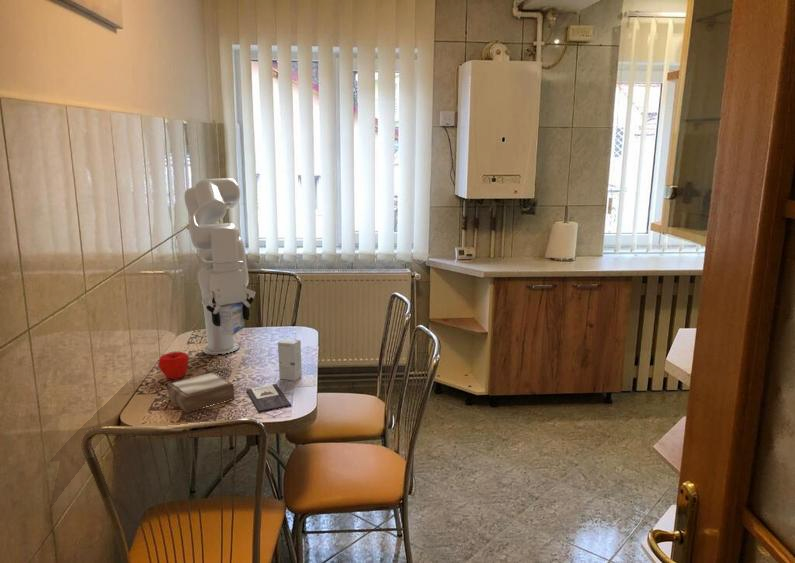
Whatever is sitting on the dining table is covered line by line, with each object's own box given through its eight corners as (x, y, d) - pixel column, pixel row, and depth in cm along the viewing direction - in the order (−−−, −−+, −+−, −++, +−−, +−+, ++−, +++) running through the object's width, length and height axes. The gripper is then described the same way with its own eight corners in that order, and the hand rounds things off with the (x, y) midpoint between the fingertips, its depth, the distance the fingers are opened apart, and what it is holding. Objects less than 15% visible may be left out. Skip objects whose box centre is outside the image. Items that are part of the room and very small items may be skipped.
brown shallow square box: (169, 399, 175) (167, 383, 174) (215, 386, 183) (213, 371, 182) (186, 413, 164) (185, 396, 163) (234, 399, 173) (233, 383, 172)
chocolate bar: (258, 410, 163) (246, 389, 179) (259, 414, 163) (246, 392, 179) (291, 404, 166) (276, 383, 182) (291, 407, 166) (276, 386, 183)
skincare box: (279, 379, 188) (276, 342, 185) (286, 374, 192) (283, 338, 189) (296, 381, 186) (293, 343, 183) (303, 376, 190) (300, 339, 187)
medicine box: (233, 334, 179) (231, 307, 178) (219, 334, 180) (217, 306, 178) (244, 327, 187) (242, 300, 185) (231, 327, 188) (229, 300, 186)
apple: (158, 383, 187) (155, 360, 186) (164, 374, 196) (161, 351, 194) (187, 381, 189) (185, 357, 187) (192, 371, 197) (190, 349, 196)
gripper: (247, 262, 188) (251, 315, 191) (193, 270, 177) (199, 326, 180) (258, 264, 182) (262, 319, 186) (203, 272, 171) (209, 330, 175)
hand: (231, 322), depth 183 cm, fingers closed on medicine box, 9 cm apart
